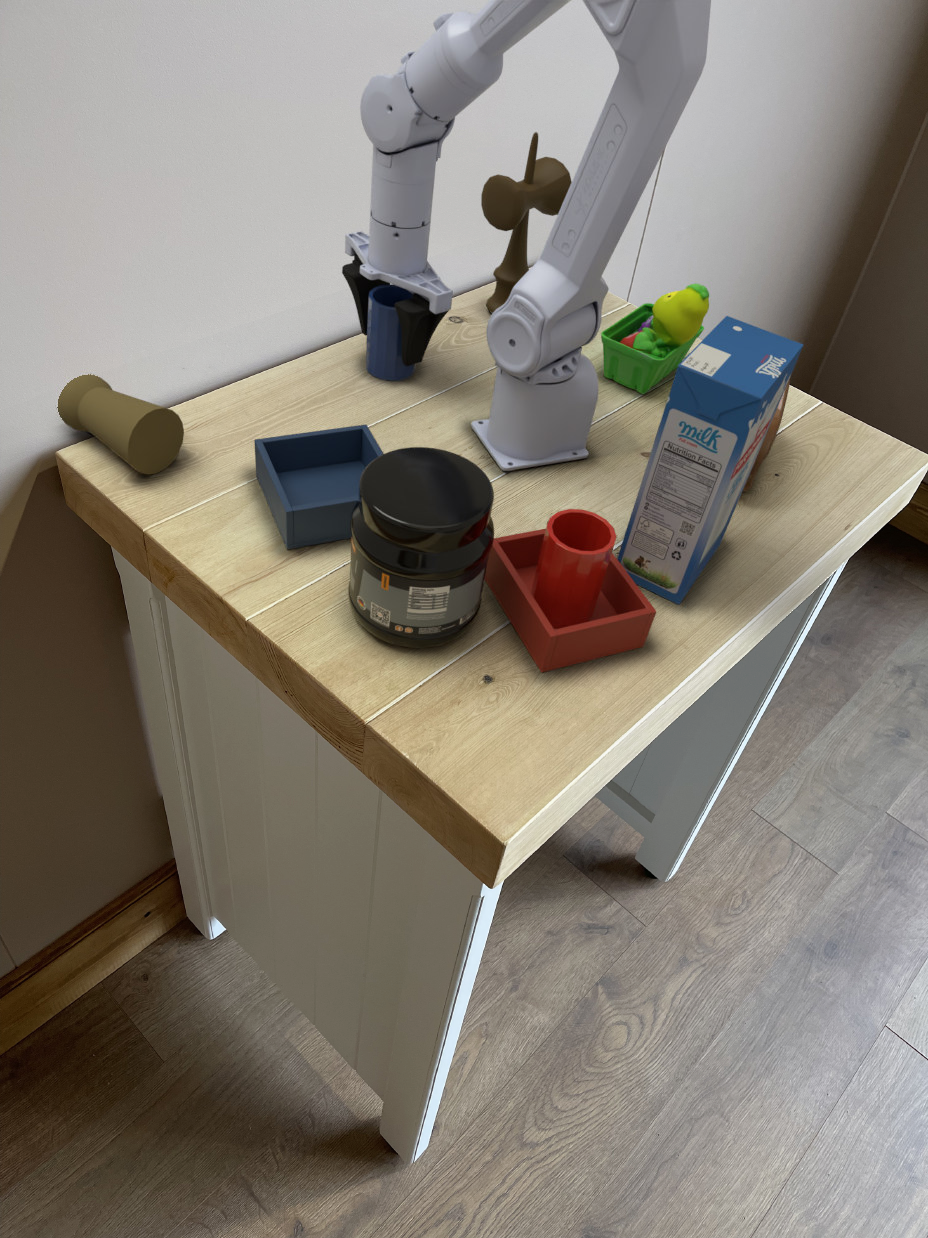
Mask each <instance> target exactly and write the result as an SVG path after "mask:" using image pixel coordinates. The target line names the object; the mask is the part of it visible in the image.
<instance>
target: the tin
mask: <svg viewBox="0 0 928 1238" xmlns="http://www.w3.org/2000/svg"><path fill="white" fill-rule="evenodd" d="M790 384H791V382H790V380H789V381H788V383H787V385H786V388H785V390H784V393H783V395H782V397H781V400H780V402H779V405H778V407H777V409H776V412H775V414H774V417H773V419H772V421H771V424H770V426H769V429H768V431H767V433H766V436H765V438H764V441H763V443H762V445H761V448H760V450H759V453H758V455H757V457H756V460H755V462H754V465H753V467H752V469H751V472H750V474H749V477H748V479H747V481H746V484H745V486H744V489H743V491H742V492H748V491H749V490H750V489H751V488H752V486H753V485H754V481H755V478H756V476H757V473H758V471H759V469H760V467H761V466H762V465H763V462H764V461H766V458H767V457H768V455H769V454H770V452H771V449H772V447H773V444H774V442H775V440H776V438H777V434H778V432H779V429H780V427H781V423H782V419H783V417H784V412H785V407H786V404H787V399H788V395H789V389H790Z"/></svg>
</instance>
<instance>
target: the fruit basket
mask: <svg viewBox="0 0 928 1238" xmlns="http://www.w3.org/2000/svg"><path fill="white" fill-rule="evenodd" d="M709 299H710V292H709V290H708V288H707V287H706V286H705V285H704V284H699V283H691V284H688V285H687V286H686V287H685V288H684V289H681V290H675V291H674V290H673V291H671V292H668V293H665V294H663V295H661V296H660V297H658V298H657V299H656V300H655V302H654V303H649V302H645V303H643V304H641V305H640V306H639V307H637V308H636V309H634V310H633V311H631V312H630V313H628V314H627V315H625V316H624V317H622V318H620V319H619V320H618V321H616V322H615V323H614V324H612V325H610V326H609V327H607V328H605V329H604V330H602V331H601V333H600V336H601V344H602V352H603V353H602V354H603V377H605V378H607V379H611V380H613V381H614V382H616V383H618V384H620V385H622V386H624V387H626V388H629V389H631V390H634V391H637V392H638V393H639V394H641V395H642V394H643V395H645V394H647V393H648V392H649V391H650V390H651V389H652V388H653V387H655V386H656V385H657V384H659V383H660V382H661V380H662V379H665V378H666V377H667V376H669V375H670V374H671V372H672V371H675V370H677V368H678V365H679V364H680V363H681V362H682V361H683V360H684V359H685V358H686V357H687V355H688V353H689V351H690V349H691V348H692V346H693V345H694V343H695V342H696V340H697V339H698V338H699V337H700V336H701V334H702V333H703V332H704V330H705V326H704V325H703V323H704V319H705V317H706V315H707V314H708V312H709V309H710V300H709Z"/></svg>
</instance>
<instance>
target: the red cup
mask: <svg viewBox="0 0 928 1238" xmlns="http://www.w3.org/2000/svg"><path fill="white" fill-rule="evenodd" d="M545 528H546V531H545V535H544V539H543V543H542V548H541V552H540V556H539V560H538V565H537V569H536V573H535V577H534V582H533V586H532V590H531V595H532V596H533V598H534V599H535V601H536V602H537V604H538V605H539V607H540V608H541V610H542V612H543V613H544V615H545V616H546V618H547V619H548V621H549V622H550V624H551V625H552V627H553V628H557V629H560V628H564V627H568V626H572V625H577V624H581V623H585V622H589V621H590V619H591V618H592V615H593V612H594V609H595V605H596V602H597V599H598V596H599V593H600V589H601V586H602V583H603V580H604V576H605V573H606V570H607V567H608V563H609V560H610V557H611V554H612V553H613V551H614V548H615V544H616V540H617V535H616V530H615V528H614V526H613V525H612V524H611V523H610V521H608V519H606V518H604V517H602V516H601V515H599V514H597V513H596V512H593V511H589V510H585V509H583V508H582V509H581V508H567V509H563V510H559V511H557V512H555V513H554V514H553V515H552V516H550V517H549V519H548V521H547V524H546V527H545Z"/></svg>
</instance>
